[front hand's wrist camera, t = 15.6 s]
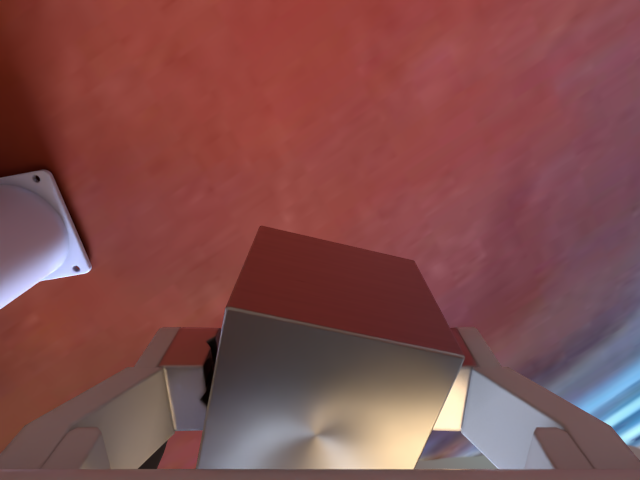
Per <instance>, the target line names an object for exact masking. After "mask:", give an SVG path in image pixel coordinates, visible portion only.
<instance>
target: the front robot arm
mask: <svg viewBox="0 0 640 480" xmlns="http://www.w3.org/2000/svg"><path fill="white" fill-rule="evenodd" d="M450 329H451V331H452V333H453V335H454V337H455V339H456V340H457V342H458V344H459V346H460V348H461V350H462V352H463V354H464V356H465V360H464V362H463V364H462V366H461V369H460V371H459V373H458V375H457V377H456V379H455V382H454V384H453V386H452V388H451V390H450V393H449V395H448V397H447V399H446V401H445V403H444V406H443V408H442V410H441V412H440V414H439V417H438V419H437V421H436V423H435V425H434V427H433V430H446V431H462V432H461V433H462V434H463V435H464V436H465V437H466V438H467V439H468V440H469V441H470V442H471V443H472V444H473V445H475V446H476V447H477V448H478V449H479V450H480V451H481V452H482V453H483V454H484V455H485V456H486V457H487V458H488V459H489V460H490V461H491V462H492V463H493V464H494V465H495V466H496V467H497V468H498V469H138V468H139V467H140V466H141V465H142V464H143V463H144V462H145V461H146V460H147V459H148V458H149V457H150V456H151V455H152V454H153V453H154V452H155V451H157V450H158V449H159V448H160V447H161V446H162V445H163V444H164V443H165V442H166V441H167V440H168V439H169V438H170V437H171V436H172V435H173V434H174V433H175V432H174V431H190V430H203V427H204V422H205V416H206V411H207V406H208V400H209V395H210V389H211V384H212V378H213V373H214V368H215V362H216V357H217V351H218V346H219V340H220V335H221V328H194V327H182V328H181V327H163V328H160V329H159V330H158V331H157V333H156V334H155V336H154V337H153V339H152V340H151V342H150V343H149V345H148V346H147V348H146V350H145V351H144V353H143V354H142V356H141V357H140V359H139V360H138V362H137V363H136V365H135V366H134V367H127V368H126V369H124V370H122V371H120V372H119V373H117V374H115V375H113V376H111V377H110V378H108V379H106V380H104V381H103V382H101V383H99V384H97V385H96V386H94V387H92V388H90V389H89V390H87V391H85V392H83V393H81V394H80V395H78V396H76V397H74V398H73V399H71V400H69V401H67V402H66V403H64V404H62V405H60V406H59V407H57V408H55V409H53V410H51V411H50V412H48V413H46V414H44V415H43V416H41V417H39V418H37V419H36V420H34V421H32V422H30V423H29V424H27V425H25V426H24V427H23V428H22V430H21V431H20V432H19V433H18V434H17V435H16V436H15V438H14V439H13V440H12V441H11V442H10V443H9V445H8V446H7V447H6V448H5V449H4V450H3V452H2V453H1V454H0V480H640V460H639V459H638V458H637V457H636V456H635V454H634V453H633V452H632V451H631V450H630V448H629V447H628V446H627V445H626V444H625V443H624V441H623V440H622V439H621V438H620V437H619V435H618V434H617V433H616V432H615V431H614V430H613V428H612V427H611V426H610V425H608V424H606V423H604V422H603V421H601V420H599V419H597V418H596V417H594V416H592V415H590V414H589V413H587V412H585V411H583V410H582V409H580V408H578V407H576V406H575V405H573V404H571V403H569V402H568V401H566V400H564V399H562V398H561V397H559V396H557V395H556V394H554V393H552V392H550V391H549V390H547V389H545V388H543V387H542V386H540V385H538V384H536V383H535V382H533V381H531V380H529V379H528V378H526V377H524V376H522V375H521V374H519V373H517V372H515V371H514V370H512V369H510V368H508V367H502V366H501V365H500V363H499V362H498V360H497V359H496V357H495V356H494V354H493V353H492V351H491V350H490V348H489V347H488V345H487V343H486V342H485V340H484V339H483V337H482V336H481V334H480V333H479V331H478V330H477V329H476V328H475V327H456V328H450Z"/></svg>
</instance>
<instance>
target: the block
mask: <svg viewBox="0 0 640 480" xmlns="http://www.w3.org/2000/svg"><path fill="white" fill-rule="evenodd" d="M464 360H465V356H464V354H463V352H462V350H461V348H460V346H459V344H458V342H457V340H456V339H455V337H454V335H453V333H452V331H451V329H450V327H449V325H448V323H447V322H446V320H445V318H444V316H443V314H442V312H441V310H440V308H439V307H438V305H437V303H436V301H435V299H434V297H433V295H432V293H431V291H430V290H429V288H428V286H427V284H426V282H425V280H424V278H423V276H422V274H421V273H420V271H419V269H418V267H417V265H416V263H415V261H413V260H409V259H405V258H400V257H396V256H392V255H387V254H383V253H379V252H374V251H370V250H365V249H361V248H357V247H352V246H348V245H344V244H339V243H335V242H331V241H326V240H322V239H317V238H313V237H309V236H304V235H300V234H296V233H291V232H287V231H283V230H278V229H274V228H269V227H265V226H260V227H259V229H258V232H257V234H256V236H255V239H254V241H253V244H252V246H251V248H250V251H249V253H248V256H247V258H246V260H245V263H244V265H243V267H242V270H241V272H240V275H239V277H238V279H237V282H236V284H235V287H234V289H233V291H232V294H231V296H230V298H229V301H228V303H227V306H226V308H225V313H224V319H223V324H222V330H221V335H220V340H219V346H218V351H217V357H216V362H215V368H214V373H213V378H212V384H211V389H210V395H209V400H208V406H207V411H206V416H205V422H204V427H203V433H202V438H201V444H200V449H199V454H198V460H197V465H196V469H415V467H416V464H417V462H418V460H419V458H420V456H421V454H422V451H423V449H424V447H425V445H426V443H427V441H428V438H429V436H430V434H431V432H432V430H433V427H434V425H435V423H436V421H437V419H438V417H439V414H440V412H441V410H442V408H443V406H444V403H445V401H446V399H447V397H448V395H449V393H450V390H451V388H452V386H453V384H454V382H455V379H456V377H457V375H458V373H459V371H460V369H461V366H462V364H463V362H464Z"/></svg>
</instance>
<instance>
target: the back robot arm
mask: <svg viewBox="0 0 640 480" xmlns="http://www.w3.org/2000/svg"><path fill="white" fill-rule="evenodd" d="M36 175H37V176H39V178H40V181H38V180H37V179H36ZM76 266H78V267H79V268H80V270H79V269H77V268H76ZM91 268H92V266H91V263H90V261H89V258H88V256H87V254H86V251H85V249H84V247H83V244H82V242H81V240H80V237H79V235H78V233H77V230H76V228H75V226H74V223H73V221H72V219H71V216H70V214H69V212H68V209H67V207H66V205H65V202H64V200H63V198H62V195H61V193H60V191H59V188H58V186H57V184H56V182H55V179H54V177H53V175H52V173H51V172H50V171H48V170H38V171H33V172H28V173H22V174H17V175H12V176H7V177H1V178H0V309H1V308H3V307H4V306H5V305H7V304H8V303H10V302H11V301H12V300H14V299H15V298H17V297H18V296H20V295H21V294H22V293H24V292H25V291H27V290H28V289H29V288H31V287H32V286H34V285H35V284H36V283H38V282H39V281H43V280H49V279H55V278H61V277H67V276H72V275H78V274H84V273H87V272H89V271H90V270H91ZM166 443H167V441H166V442H165V443H164V444H163V445H162V446H161V447H160V448H159V449H158V450H157V451H155V452H154V453H153V454H152V455H151V456H150V457H149V458H148V459H147V460H146V461H145V462H144V463H143V464H142V465H141V466H140V467H139V468H138V469H157V467H158V465H159V462H160V460H161V458H162V455H163V453H164V450H165V447H166Z"/></svg>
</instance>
